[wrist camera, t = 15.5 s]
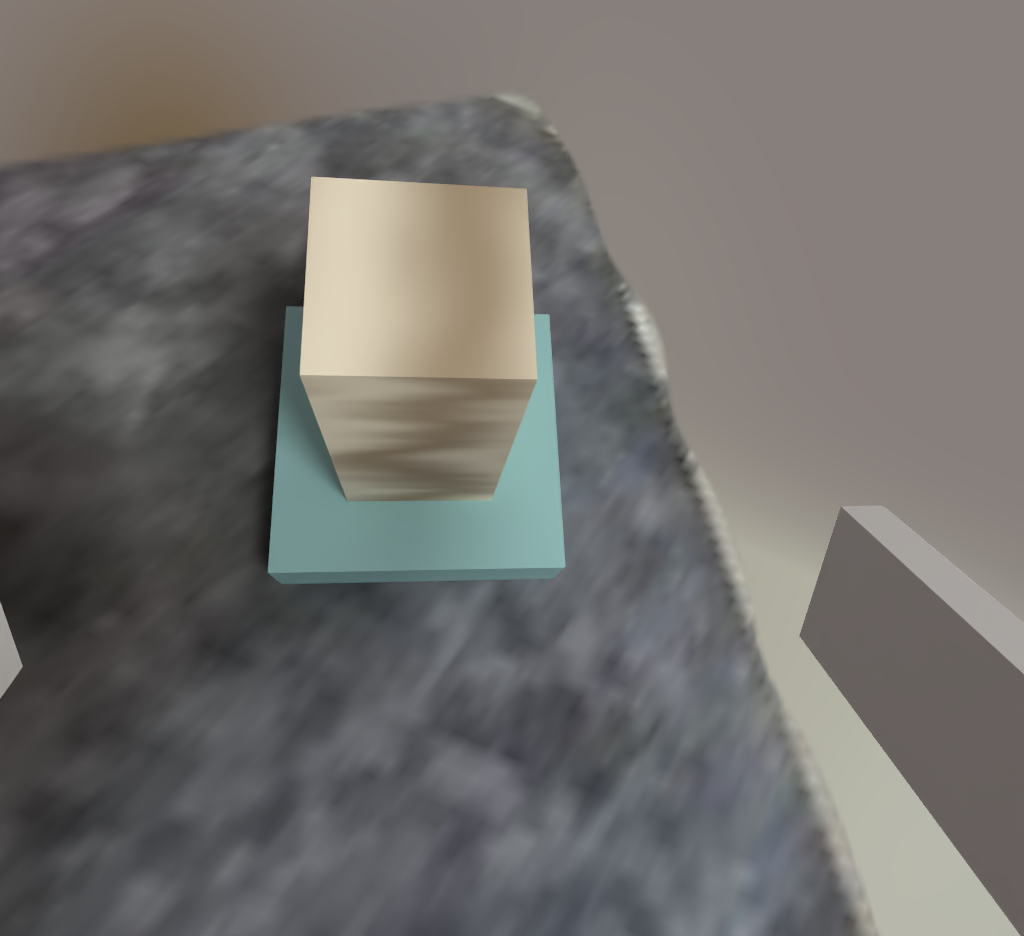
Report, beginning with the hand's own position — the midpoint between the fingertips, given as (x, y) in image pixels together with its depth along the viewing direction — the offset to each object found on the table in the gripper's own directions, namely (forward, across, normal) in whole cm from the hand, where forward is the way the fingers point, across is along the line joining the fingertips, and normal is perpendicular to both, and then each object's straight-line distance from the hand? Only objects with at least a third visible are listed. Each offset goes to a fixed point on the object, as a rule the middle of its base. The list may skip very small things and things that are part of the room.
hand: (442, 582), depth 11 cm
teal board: (+21, 0, -8) cm, 22 cm away
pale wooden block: (+18, 0, -6) cm, 19 cm away
